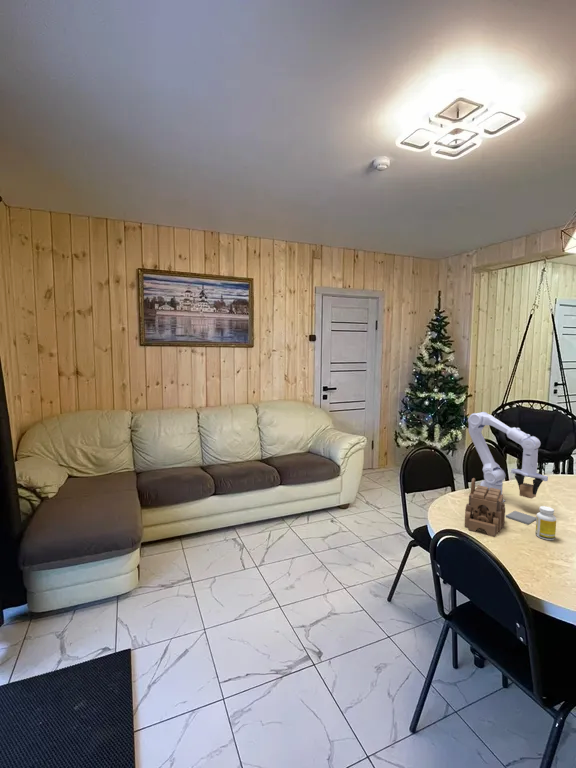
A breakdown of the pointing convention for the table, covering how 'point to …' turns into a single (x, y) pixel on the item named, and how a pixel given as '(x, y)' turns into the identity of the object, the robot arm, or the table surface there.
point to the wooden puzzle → (485, 510)
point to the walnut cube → (527, 490)
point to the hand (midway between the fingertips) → (527, 492)
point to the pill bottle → (546, 523)
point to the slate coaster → (521, 517)
